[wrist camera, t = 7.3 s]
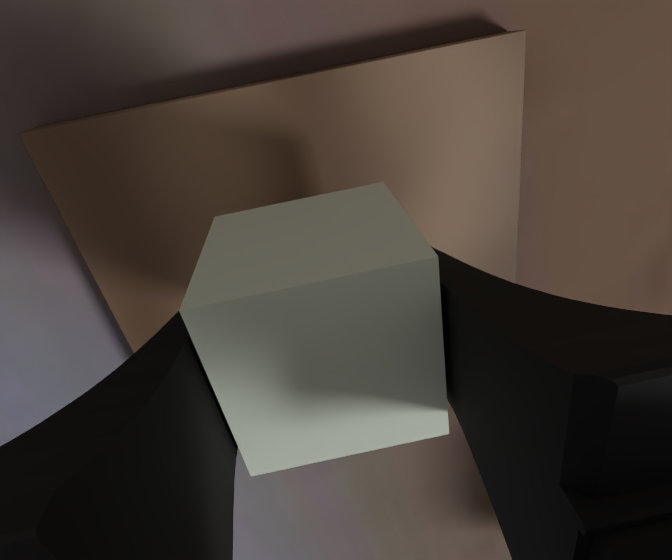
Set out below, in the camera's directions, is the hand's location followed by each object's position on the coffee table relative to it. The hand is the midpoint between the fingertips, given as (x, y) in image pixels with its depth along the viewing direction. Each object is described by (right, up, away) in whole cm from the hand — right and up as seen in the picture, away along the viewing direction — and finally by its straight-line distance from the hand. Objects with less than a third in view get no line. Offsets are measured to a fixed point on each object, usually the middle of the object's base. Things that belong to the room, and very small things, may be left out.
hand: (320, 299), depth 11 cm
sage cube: (0, +1, +1) cm, 1 cm away
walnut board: (-1, +2, +4) cm, 4 cm away
